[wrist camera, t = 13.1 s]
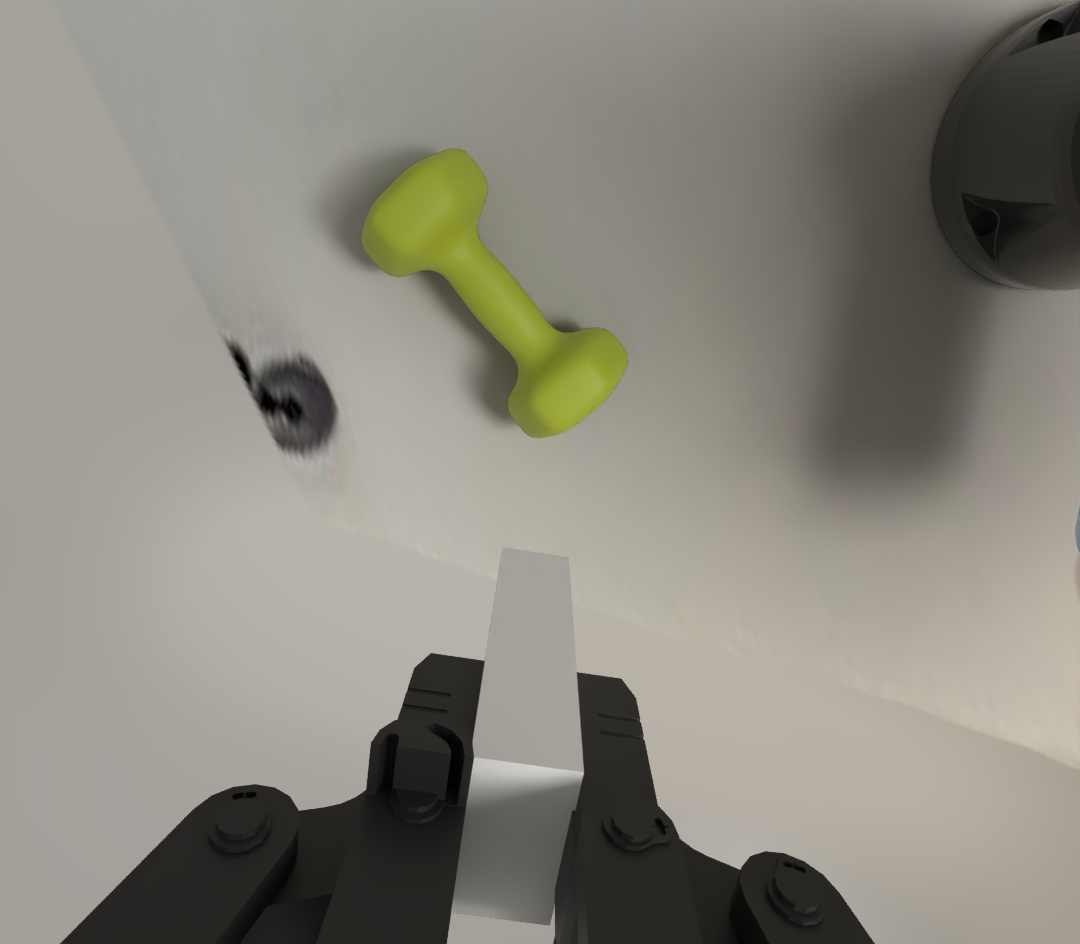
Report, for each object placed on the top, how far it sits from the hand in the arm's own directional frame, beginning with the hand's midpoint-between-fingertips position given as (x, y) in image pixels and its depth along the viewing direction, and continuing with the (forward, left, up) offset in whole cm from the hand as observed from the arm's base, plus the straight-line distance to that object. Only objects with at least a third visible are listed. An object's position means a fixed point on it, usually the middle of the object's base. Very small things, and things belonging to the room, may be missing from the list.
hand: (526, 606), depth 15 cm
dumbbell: (+3, -5, -30) cm, 30 cm away
